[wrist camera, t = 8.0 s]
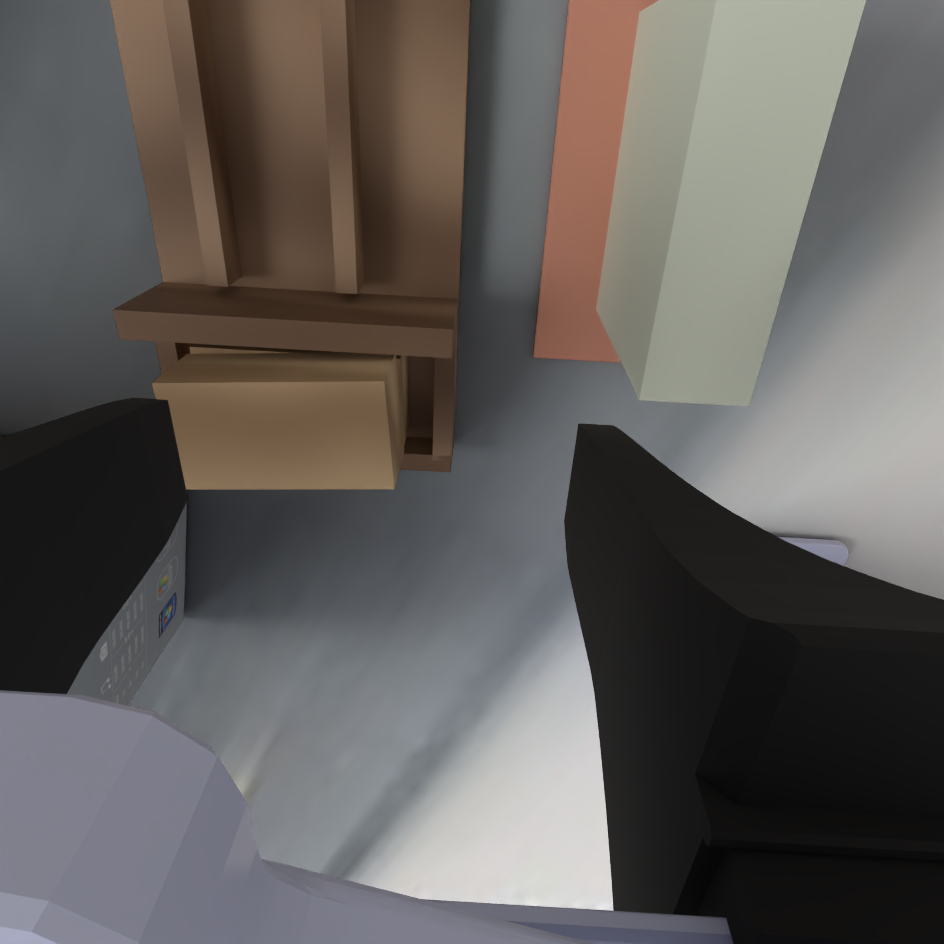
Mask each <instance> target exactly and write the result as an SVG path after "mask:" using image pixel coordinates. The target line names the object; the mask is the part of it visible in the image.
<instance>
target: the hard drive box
mask: <svg viewBox="0 0 944 944" xmlns="http://www.w3.org/2000/svg"><path fill="white" fill-rule="evenodd" d="M0 438H2V437H0ZM186 491H187V490H186ZM186 511H187V502H186V505H185V507H184V509H183V511H182V513H181V516H180V518H179V520H178V522H177V524H176V526H175V528H174V530H173V532H172V534H171V536H170V538H169V540H168V542H167V544H166V545H165V547H164V548H163V550H162V551H161V553H160V554H159V556H158V557H157V558H156V560H155V561H154V563H153V564H152V566H151V567H150V569H149V570H148V571H147V573H146V574H145V576H144V577H143V579H142V580H141V581H140V583H139V584H138V586H137V587H136V588H135V590H134V591H133V593H132V594H131V595H130V597H129V598H128V600H127V601H126V602H125V604H124V605H123V607H122V608H121V609H120V611H119V612H118V614H117V615H116V616H115V618H114V619H113V621H112V622H111V624H110V625H109V626H108V628H107V629H106V631H105V632H104V633H103V635H102V636H101V638H100V639H99V640H98V642H97V644H96V645H95V647H94V648H93V650H92V651H91V653H90V654H89V656H88V658H87V659H86V661H85V662H84V664H83V666H82V667H81V669H80V671H79V673H78V675H77V677H76V678H75V680H74V682H73V684H72V686H71V687H70V689H69V691H68V693H67V694H70V695H83V696H87V697H92V698H96V699H100V700H105V701H109V702H114V703H118V704H122V705H127V706H128V704H129V703H130V701H131V699H132V698H133V696H134V695H135V693H136V692H137V691H138V689H139V687H140V686H141V684H142V683H143V681H144V679H145V678H146V676H147V675H148V674H149V672H150V671H151V669H152V667H153V665H154V663H155V662H156V660H157V659H158V657H159V656H160V654H161V653H162V651H163V649H164V648H165V646H166V645H167V643H168V642H169V641H170V639H171V638H172V636H173V635H174V633H175V632H176V630H177V628H178V627H179V625H180V624H181V623H182V621H183V617H184V594H185V551H186Z"/></svg>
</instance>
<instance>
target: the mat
mask: <svg viewBox="0 0 944 944" xmlns="http://www.w3.org/2000/svg"><path fill="white" fill-rule="evenodd" d="M657 1H658V0H569V4H568V14H567V24H566V34H565V44H564V54H563V64H562V74H561V84H560V94H559V104H558V114H557V124H556V133H555V143H554V153H553V163H552V173H551V183H550V193H549V203H548V213H547V223H546V233H545V243H544V253H543V263H542V273H541V283H540V292H539V302H538V312H537V322H536V332H535V342H534V352H533V356H534V358H550V359H567V360H584V361H602V362H619V363H621V361H620V359H619V357H618V355H617V353H616V351H615V349H614V346H613V344H612V342H611V340H610V338H609V336H608V334H607V332H606V330H605V328H604V325H603V323H602V321H601V319H600V317H599V315H598V313H597V311H596V306H597V299H598V292H599V286H600V279H601V272H602V265H603V258H604V251H605V244H606V238H607V231H608V224H609V217H610V210H611V203H612V196H613V190H614V183H615V176H616V169H617V162H618V155H619V148H620V142H621V135H622V128H623V121H624V114H625V107H626V100H627V94H628V87H629V80H630V73H631V66H632V59H633V52H634V46H635V39H636V32H637V25H638V18H639V12H640V11H642V10H644V9H645V8H647V7H649V6H650V5H652V4H654V3H655V2H657Z"/></svg>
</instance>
